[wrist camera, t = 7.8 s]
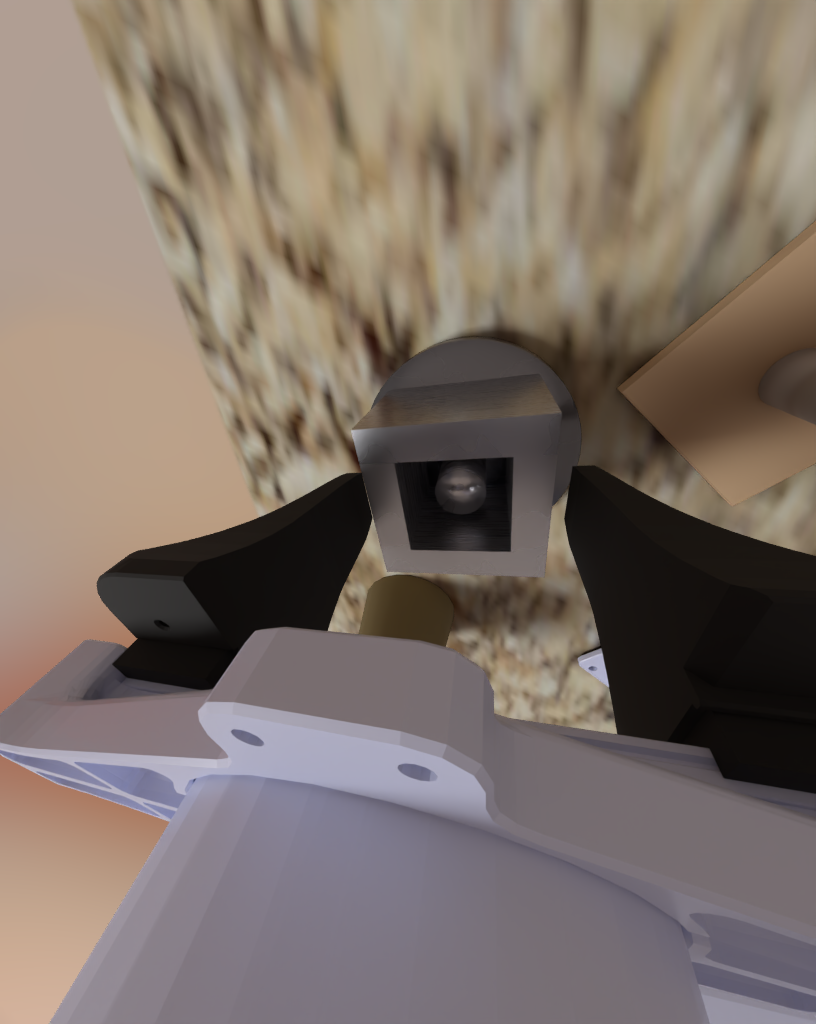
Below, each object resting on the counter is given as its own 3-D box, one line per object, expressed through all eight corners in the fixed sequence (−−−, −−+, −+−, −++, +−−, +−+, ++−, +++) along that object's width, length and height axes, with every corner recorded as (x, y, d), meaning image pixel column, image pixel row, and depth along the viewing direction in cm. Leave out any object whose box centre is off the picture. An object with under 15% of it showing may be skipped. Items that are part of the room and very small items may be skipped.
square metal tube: (539, 373, 12) (561, 412, 8) (530, 505, 15) (544, 577, 11) (389, 390, 13) (351, 430, 9) (410, 506, 16) (387, 571, 12)
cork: (401, 560, 20) (329, 785, 11) (473, 612, 21) (462, 851, 12) (351, 601, 23) (263, 799, 14) (415, 644, 24) (373, 849, 15)
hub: (625, 440, 13) (668, 490, 10) (471, 553, 18) (466, 611, 15) (459, 277, 11) (447, 273, 8) (338, 454, 16) (301, 495, 13)
